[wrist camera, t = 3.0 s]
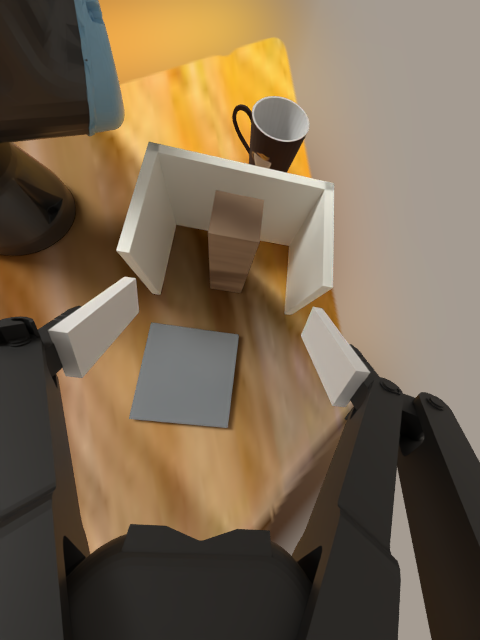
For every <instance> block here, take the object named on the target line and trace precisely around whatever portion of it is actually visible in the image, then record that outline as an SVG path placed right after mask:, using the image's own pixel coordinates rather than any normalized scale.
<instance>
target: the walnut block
mask: <svg viewBox="0 0 480 640" xmlns="http://www.w3.org/2000/svg"><path fill="white" fill-rule="evenodd" d="M263 207H264V200H261V199H257V198H252V197H247V196H242V195H238V194H233V193H228V192H223V191H218V190H216V191H215V197H214V203H213V208H212V214H211V219H210V225H209V230H208V245H209V270H210V288H211V289H218V290H224V291H230V292H236V293H241V291H242V288H243V285H244V283H245V280H246V277H247V275H248V272H249V269H250V267H251V264H252V261H253V259H254V256H255V253H256V251H257V248H258V245H259V243H260V234H261V225H262V216H263Z"/></svg>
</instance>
